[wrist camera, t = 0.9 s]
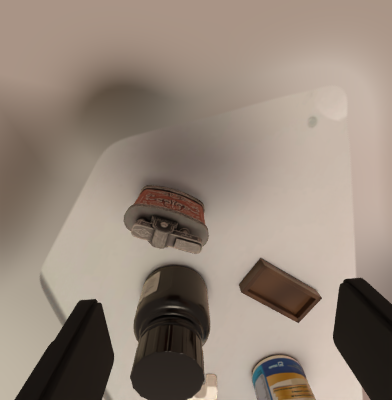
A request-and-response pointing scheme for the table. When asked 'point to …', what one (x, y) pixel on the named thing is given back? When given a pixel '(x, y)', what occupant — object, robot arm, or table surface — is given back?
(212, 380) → the white l-shaped piece
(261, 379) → the beverage bottle
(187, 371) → the ink bottle
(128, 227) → the lighter
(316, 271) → the table surface
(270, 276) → the tray
